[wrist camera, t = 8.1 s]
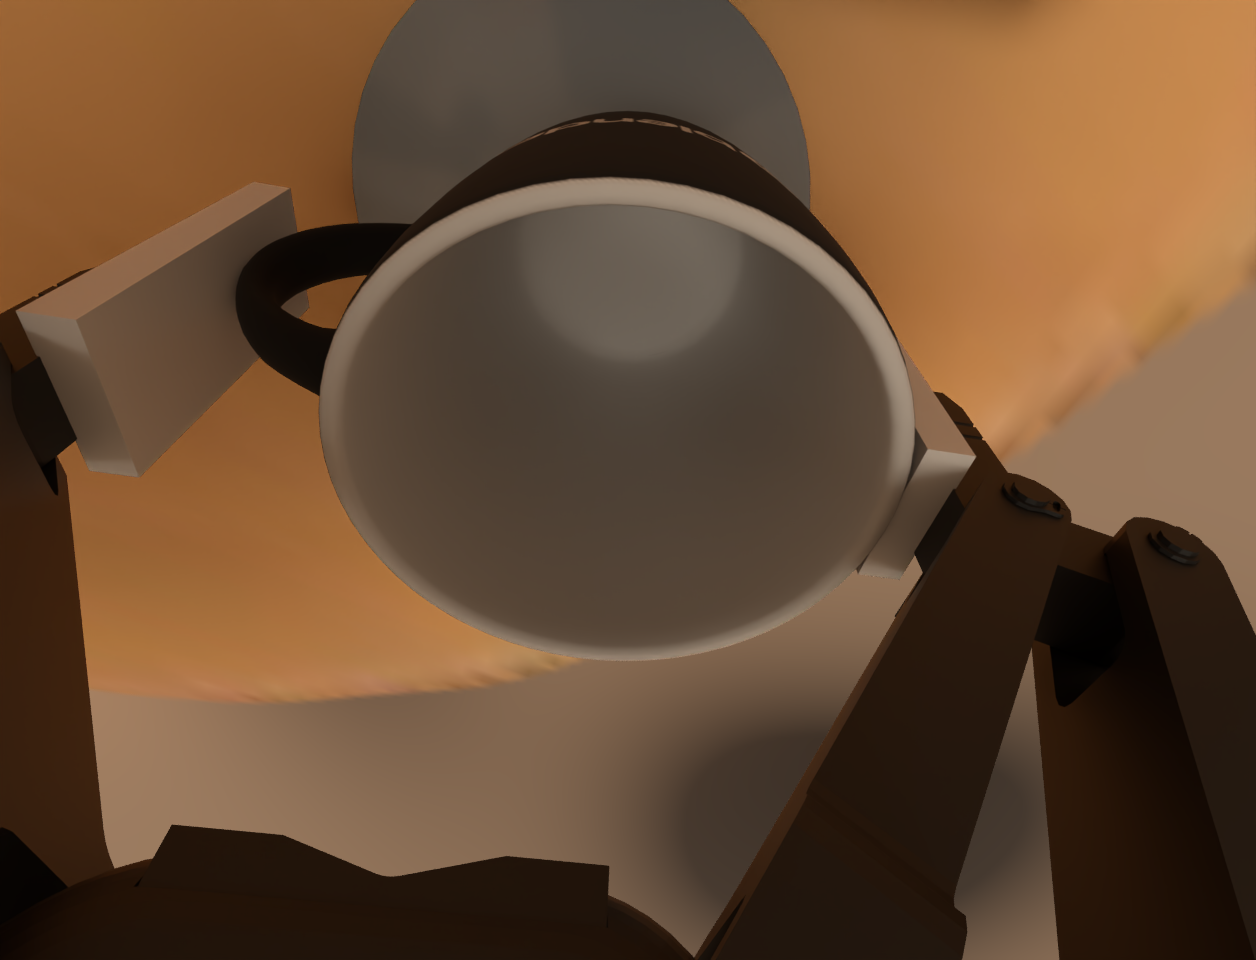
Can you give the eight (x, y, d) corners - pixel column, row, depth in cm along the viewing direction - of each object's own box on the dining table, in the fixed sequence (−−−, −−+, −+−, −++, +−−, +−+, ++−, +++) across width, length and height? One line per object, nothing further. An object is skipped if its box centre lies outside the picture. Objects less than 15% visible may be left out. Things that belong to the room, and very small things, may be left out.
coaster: (379, 378, 23) (372, 387, 22) (332, -119, 15) (321, -121, 14) (738, 432, 24) (740, 442, 23) (880, -4, 16) (886, -3, 15)
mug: (850, 112, 15) (1060, 264, 8) (738, 419, 21) (791, 692, 13) (338, -11, 14) (-51, 18, 6) (362, 349, 20) (170, 604, 12)
